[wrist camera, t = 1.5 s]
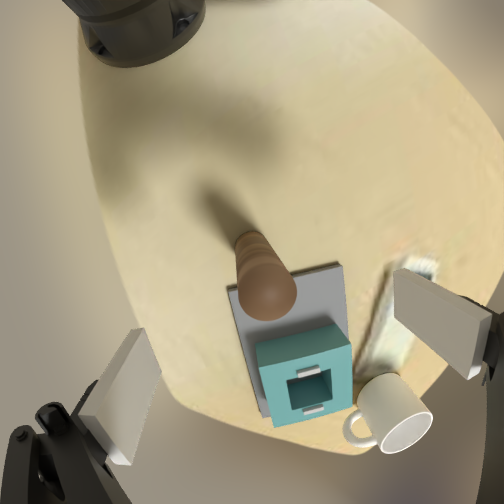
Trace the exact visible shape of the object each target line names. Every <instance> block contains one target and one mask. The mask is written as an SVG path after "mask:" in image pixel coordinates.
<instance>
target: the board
mask: <svg viewBox="0 0 504 504" xmlns="http://www.w3.org/2000/svg"><path fill="white" fill-rule="evenodd" d="M291 276H292V278H293V279H294V281H295V283H296V287H297V298H296V301H295V304H294V306H293V307H292V309H291V310H290V311H289V312H288V313H287V314H286V315H284V316H283V317H281V318H279V319H277V320H273V321H259V320H256V319H254V318H252V317H250V316H248V315H247V314H246V313H245V312H244V311H243V309H242V308H241V306H240V303H239V299H238V287H236V288H231V289H228V293H229V297H230V301H231V305H232V309H233V313H234V317H235V321H236V324H237V328H238V332H239V336H240V340H241V343H242V347H243V351H244V355H245V358H246V362H247V366H248V369H249V373H250V376H251V380H252V384H253V387H254V391H255V394H256V398H257V401H258V405H259V408H260V411H261V415H262V418H266V417H271V414H270V410H269V406H268V403H267V399H266V395H265V391H264V387H263V383H262V379H261V375H260V371H259V367H258V361H257V355H256V348H255V343H259V342H264V341H269V340H273V339H277V338H282V337H286V336H290V335H294V334H298V333H302V332H306V331H310V330H314V329H318V328H322V327H325V326H329V325H333V324H337V325H338V327H339V328H340V329H341V331H342V332H343V333H344V335H345V336H346V337H347V339H348V340H349V336H348V320H347V307H346V295H345V285H344V275H343V266H342V265H340V264H337V265H333V266H328V267H324V268H320V269H316V270H312V271H307V272H303V273H299V274H295V275H291ZM319 376H322V373H321V371H320V372H319V373H316V374H312V375H308V376H304V377H301V378H298V377H297V378H293V379H289V380H286V383H287V385H288V384H292V383H297V382H301V381H304V380H308V379H312V378H316V377H319Z"/></svg>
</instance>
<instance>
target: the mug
mask: <svg viewBox="0 0 504 504" xmlns="http://www.w3.org/2000/svg"><path fill="white" fill-rule="evenodd" d="M357 406H358V409H357V410H356V411H354V412H352V413H351V414H350V415H349V416H348V417H347V418H346V420H345V422H344V424H343V435H344V437H345V439H346V440H347V442H349V443H350V444H351V445H353V446H356V447H369V446H373V445H375V444H378V445H379V447H380V449H381V451H382V452H384V453H389V454H390V453H396V452H399V451H401V450H404V449H406V448H408V447H409V446H411V445H412V444H414V443H415V442H416V441H418V440H419V439H420V438H421V437H422V436H423V435H424V434H425V433H426V432H427V430H428V429H429V427H430V425H431V423H432V419H433V416H432V414H431V412H430V411H429V410H428V409H427V407H426V406H425V405H424V404H423V403H422V401H421V400H420V399H419V398H418V397H417V395H416V394H415V393H414V392H413V390H412V389H411V388H410V387H409V386H408V384H407V383H406V382H405V381H404V380H403V379H402V378H401V377H400V376H399V375H397V374H395V373H386V374H382V375H379V376H377V377H375V378H373V379H372V380H371V381H369V382H368V383H367V384H366V385H365V386H364V387H363V389H362V390H361V391H360V393H359V395H358V399H357ZM360 417H363V418H364V420H365V422H366V424H367V425H368V427H369V429H370V431H371V433H372V436H370V437H367V438H358V437H356V436H355V435H354V434H353V433H352V430H351V426H352V424H353V422H354V421H355V420H357V419H358V418H360Z"/></svg>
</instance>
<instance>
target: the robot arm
mask: <svg viewBox="0 0 504 504" xmlns="http://www.w3.org/2000/svg"><path fill="white" fill-rule="evenodd" d="M62 1H63V2H64V3H65V4H66V5H67V6H68V7H69V8H70V9H71V10H72V11H74V13H76V15H77V16H78V17H79V18H80V23H81V27H82V31H83V35H84V39H85V43H86V45H87V47H88V49H89V50H90V51H91V52H92V53H93V54H94V55H95V56H96V57H97V58H98V59H99V60H100V61H102V62H103V63H105V64H107V65H110V66H114V67H122V68H128V67H137V66H142V65H146V64H150V63H153V62H155V61H158V60H160V59H162V58H165V57H166V56H168V55H170V54H172V53H174V52H175V51H177V50H178V49H179V48H181V47H182V46H183V45H185V44H186V43H187V42H188V41H189V40H190V39H191V38H192V37H193V36H194V35H195V33H196V32H197V31H198V29H199V28H200V26H201V24H202V22H203V20H204V16H205V0H62ZM393 277H394V318H396V319H397V320H398V321H399V322H401V323H402V324H403V325H404V326H405V327H406V328H408V329H409V330H410V331H411V332H412V333H414V334H415V335H416V336H417V337H418V338H420V339H421V340H422V341H423V342H424V343H425V344H427V345H428V346H429V347H430V348H431V349H432V350H434V351H435V352H436V353H437V354H438V355H439V356H440V357H442V358H443V359H444V360H445V361H446V362H447V363H448V364H450V365H451V366H452V367H453V368H454V369H456V371H458V372H459V373H460V374H461V375H462V376H463V377H464V378H466V380H469V379H470V378H472V377H473V376H475V375H476V374H478V373H479V372H480V368H481V365H482V361H484V362H486V363H487V364H488V365H487V368H486V372H485V375H484V378H483V382H482V386H484V383H485V381H486V384H487V425H486V441H485V453H484V461H483V468H482V475H481V481H480V486H479V492H478V496H477V500H476V504H504V312H503V313H501V314H500V315H499V314H497V313H495V312H494V311H492V310H490V309H488V308H486V307H485V306H483V305H480V304H479V303H477V302H474V301H473V300H472V299H470V298H468V297H465V296H460V295H457V294H455V293H453V292H451V291H449V290H447V289H445V288H443V287H441V286H439V285H437V284H436V283H434V282H432V281H430V280H428V279H426V278H424V277H422V276H420V275H418V274H416V273H414V272H412V271H410V270H408V269H406V268H403V269H400V270H396V271H393ZM161 372H162V371H161V368H160V366H159V364H158V361H157V359H156V356H155V354H154V352H153V349H152V347H151V344H150V342H149V339H148V336H147V334H146V331H145V329H144V328H139V329H132V330H131V331H130V332H129V334H128V335H127V337H126V338H125V340H124V341H123V343H122V344H121V346H120V347H119V349H118V350H117V352H116V353H115V355H114V357H113V358H112V360H111V361H110V363H109V364H108V366H107V368H106V369H105V371H104V372H103V374H102V375H101V377H100V379H99V380H96V381H94V382H93V383H92V384H91V385H90V386H89V387H88V388H87V390H86V391H85V393H84V395H83V396H82V398H81V399H80V401H79V402H78V404H77V406H76V408H75V409H74V411H73V412H72V414H71V416H69V414H68V413H67V411H66V410H65V408H64V407H63V405H62V404H61V403H59V402H51V403H48V404H46V405H44V406H42V407H41V408H40V409H39V410H38V411H37V413H36V415H35V419H36V421H37V422H38V424H39V425H40V426H41V428H42V429H43V430H44V432H45V433H44V434H36V433H35V431H34V430H33V429H32V427H31V426H28V425H23V426H20V427H18V428H16V429H15V430H14V431H13V433H12V434H11V436H10V439H9V444H8V449H7V454H6V460H5V466H4V472H3V479H2V487H1V498H0V504H132V503H131V501H130V500H129V498H128V497H127V495H126V494H125V492H124V491H123V489H122V488H121V486H120V485H119V483H118V481H117V480H116V478H115V476H114V474H113V473H112V471H111V469H110V468H109V466H108V465H107V464H106V463H105V460H106V457H107V455H108V456H109V457H110V459H111V460H112V461H113V462H114V463H115V464H121V465H132V462H133V459H134V456H135V452H136V449H137V445H138V442H139V439H140V436H141V433H142V430H143V426H144V423H145V420H146V417H147V414H148V411H149V408H150V405H151V402H152V398H153V396H154V393H155V390H156V387H157V384H158V381H159V378H160V375H161ZM38 474H39V475H40V478H39V475H38Z"/></svg>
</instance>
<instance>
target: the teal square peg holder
mask: <svg viewBox="0 0 504 504" xmlns="http://www.w3.org/2000/svg"><path fill="white" fill-rule="evenodd" d="M255 348H256V355H257V361H258V367H259V371H260V375H261V379H262V383H263V387H264V391H265V395H266V399H267V403H268V406H269V410H270V414H271V418H272V422H273V425H274V428H275V427H280V426H284V425H289V424H293V423H297V422H301V421H305V420H309V419H313V418H316V417H320V416H324V415H327V414H330V413H334V412H337V411H340V410H343V409H346V408H349V407H352V349H351V343H350V341H349V340H348V339H347V337H346V336H345V335H344V333H343V332H342V331H341V329H340V328H339V327H338V325H337V324H333V325H329V326H325V327H322V328H318V329H314V330H310V331H306V332H302V333H298V334H294V335H290V336H286V337H282V338H277V339H273V340H269V341H264V342H259V343H255ZM320 371H321V373H322V376H319V377H316V378H312V379H308V380H304V381H301V382H297V383H292V384H288V385H287V383H286V380H289V379H293V378H297V377H298V378H301V377H304V376H308V375H312V374H316V373H319V372H320Z"/></svg>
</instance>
